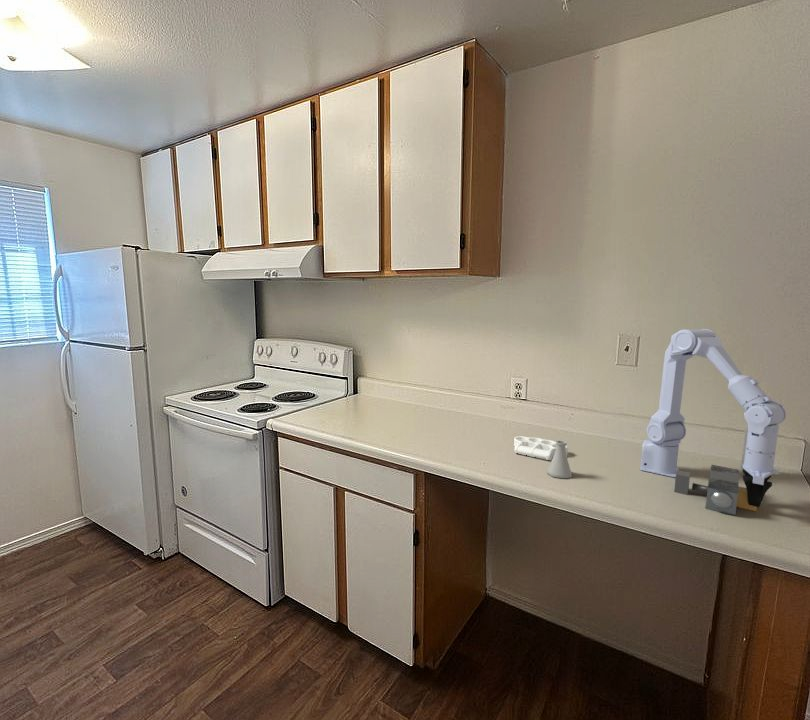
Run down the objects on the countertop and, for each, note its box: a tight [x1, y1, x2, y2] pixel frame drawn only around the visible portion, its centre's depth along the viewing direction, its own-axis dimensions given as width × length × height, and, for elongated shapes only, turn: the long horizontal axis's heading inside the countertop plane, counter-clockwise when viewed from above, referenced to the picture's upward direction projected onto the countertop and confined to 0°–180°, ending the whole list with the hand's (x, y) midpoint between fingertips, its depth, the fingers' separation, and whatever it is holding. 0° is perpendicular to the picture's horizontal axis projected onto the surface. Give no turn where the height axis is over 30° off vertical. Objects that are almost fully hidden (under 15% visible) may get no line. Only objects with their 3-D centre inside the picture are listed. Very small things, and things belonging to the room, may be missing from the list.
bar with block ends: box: [673, 469, 763, 512], centre depth 115 cm, size 18×4×5 cm, turn 53°
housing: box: [705, 464, 740, 516], centre depth 114 cm, size 6×17×6 cm, turn 143°
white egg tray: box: [513, 435, 569, 461], centre depth 150 cm, size 3×18×15 cm
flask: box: [546, 439, 573, 479], centre depth 130 cm, size 7×7×10 cm
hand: (753, 502), depth 111 cm, fingers closed on bar with block ends, 4 cm apart
